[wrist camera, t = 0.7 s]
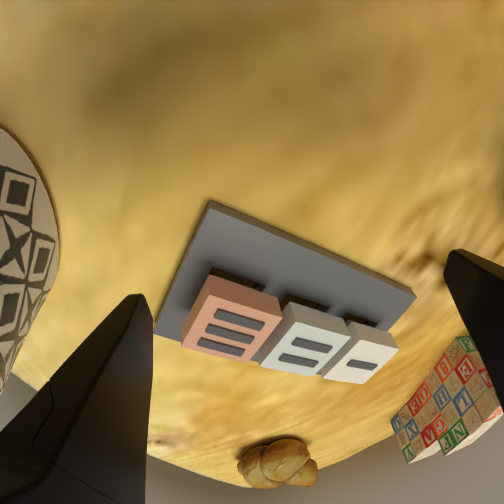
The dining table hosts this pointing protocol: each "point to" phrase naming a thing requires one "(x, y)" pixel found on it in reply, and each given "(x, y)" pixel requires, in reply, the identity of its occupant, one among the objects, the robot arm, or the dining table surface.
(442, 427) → the stack of blocks
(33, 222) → the planter
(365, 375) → the tile
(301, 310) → the tile
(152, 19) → the dining table surface
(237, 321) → the slotted block
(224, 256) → the board
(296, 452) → the bread roll
